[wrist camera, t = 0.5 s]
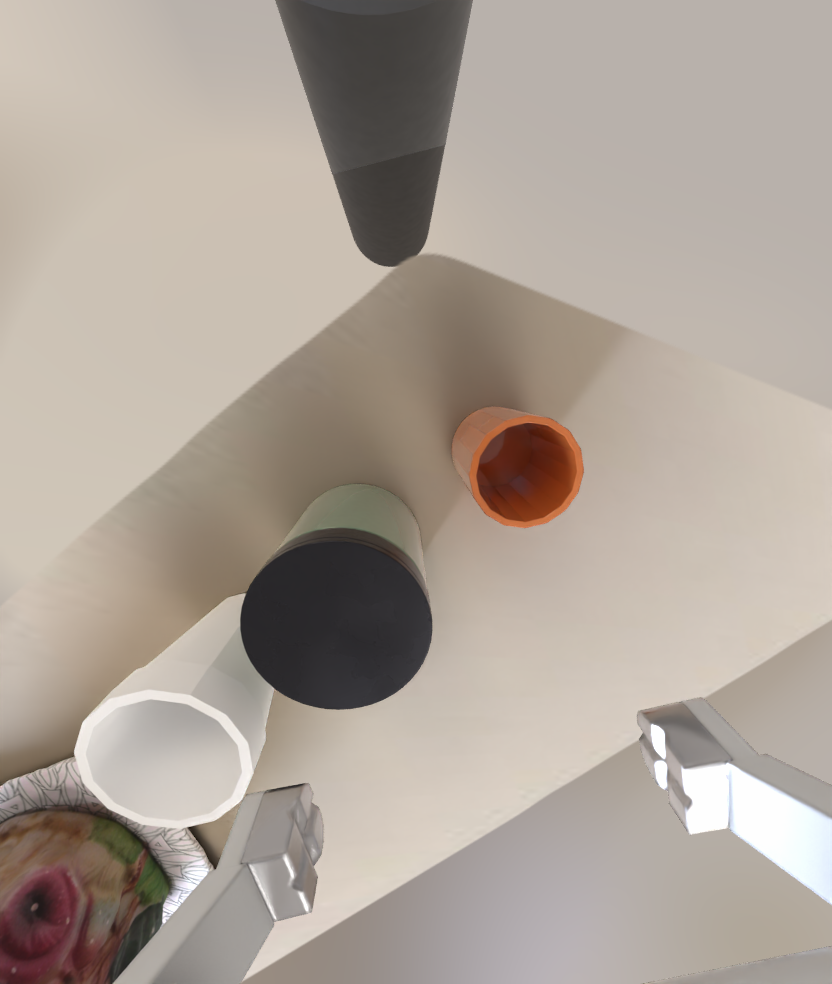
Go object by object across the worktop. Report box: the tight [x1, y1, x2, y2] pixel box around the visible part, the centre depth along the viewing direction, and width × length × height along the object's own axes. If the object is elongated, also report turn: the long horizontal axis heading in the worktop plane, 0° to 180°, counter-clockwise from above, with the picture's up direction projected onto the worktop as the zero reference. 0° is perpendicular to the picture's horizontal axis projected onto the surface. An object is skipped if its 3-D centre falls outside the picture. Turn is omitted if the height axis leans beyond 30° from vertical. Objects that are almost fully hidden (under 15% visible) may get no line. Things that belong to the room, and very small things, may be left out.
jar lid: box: [240, 528, 432, 710], centre depth 23 cm, size 10×10×2 cm
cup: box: [451, 406, 584, 528], centre depth 28 cm, size 6×6×9 cm
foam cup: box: [74, 593, 274, 829], centre depth 29 cm, size 10×9×13 cm
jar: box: [274, 484, 428, 590], centre depth 28 cm, size 10×10×12 cm
